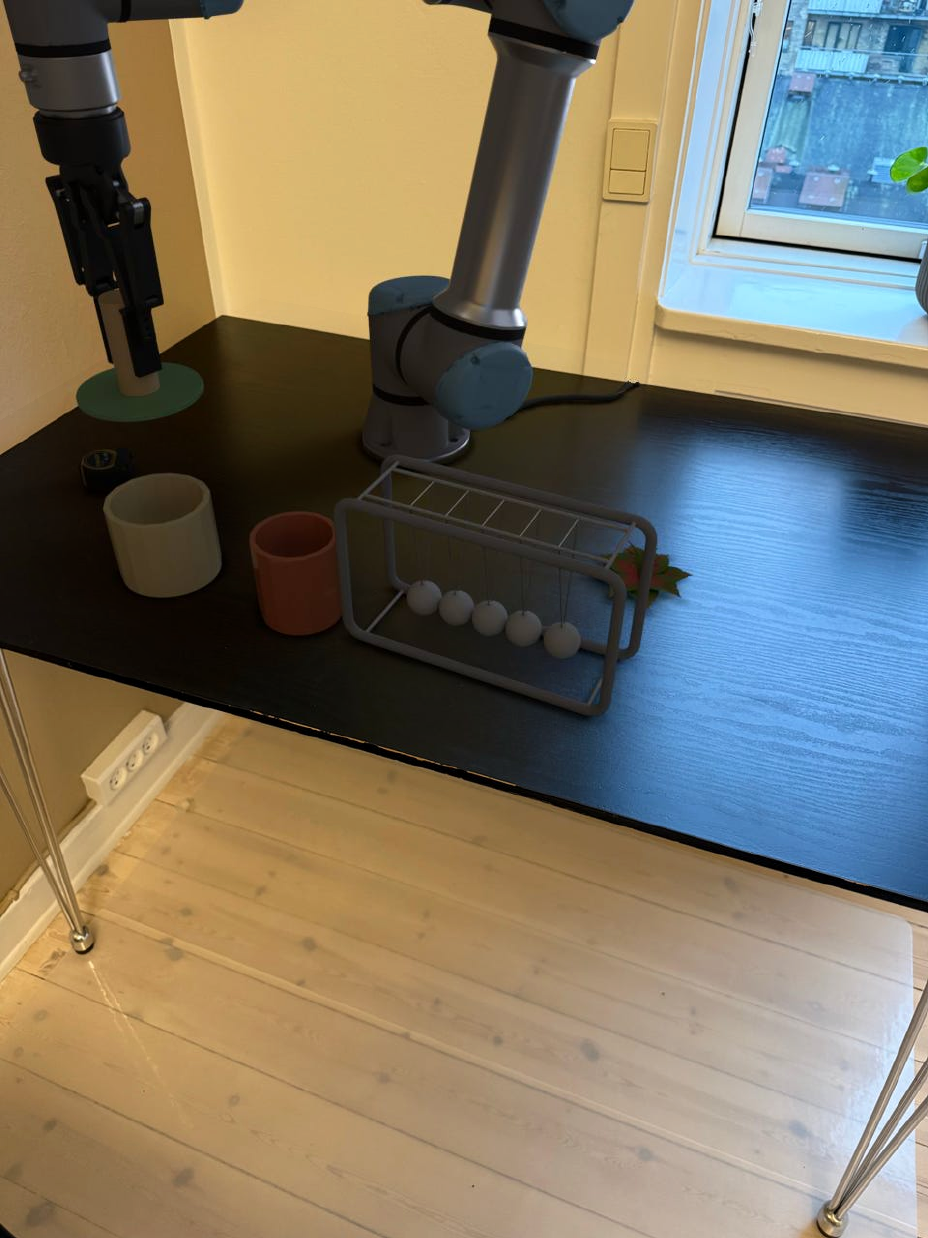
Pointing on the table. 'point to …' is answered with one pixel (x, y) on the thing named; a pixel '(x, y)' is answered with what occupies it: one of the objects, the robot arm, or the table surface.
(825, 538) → the table surface
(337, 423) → the table surface
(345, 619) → the newton's cradle
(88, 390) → the lid
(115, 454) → the tape measure
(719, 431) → the table surface
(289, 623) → the cup
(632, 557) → the red green leaf
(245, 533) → the table surface
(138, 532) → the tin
